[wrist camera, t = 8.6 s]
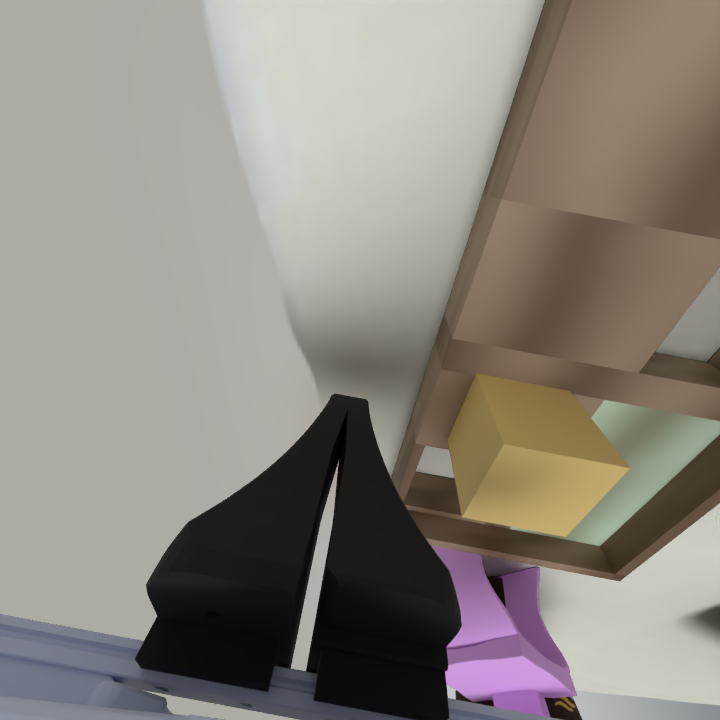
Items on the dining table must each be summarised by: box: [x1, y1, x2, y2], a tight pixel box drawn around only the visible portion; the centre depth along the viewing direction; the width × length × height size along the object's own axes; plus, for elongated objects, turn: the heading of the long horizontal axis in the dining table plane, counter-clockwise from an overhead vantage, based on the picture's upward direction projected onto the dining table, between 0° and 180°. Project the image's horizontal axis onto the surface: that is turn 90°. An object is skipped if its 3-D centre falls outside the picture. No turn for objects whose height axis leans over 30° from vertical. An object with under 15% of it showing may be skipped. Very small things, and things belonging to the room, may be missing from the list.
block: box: [448, 373, 630, 537], centre depth 12 cm, size 4×4×4 cm
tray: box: [391, 0, 720, 581], centre depth 12 cm, size 13×27×4 cm, turn 171°
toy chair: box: [431, 546, 577, 717], centre depth 18 cm, size 8×9×15 cm
